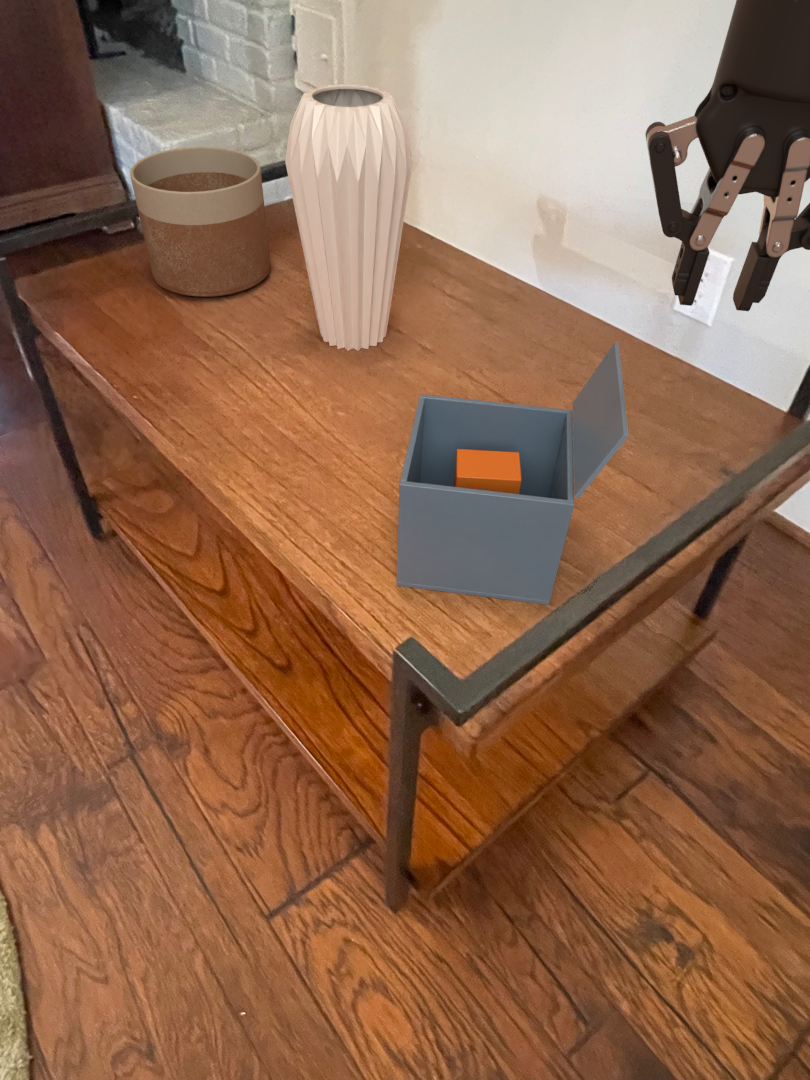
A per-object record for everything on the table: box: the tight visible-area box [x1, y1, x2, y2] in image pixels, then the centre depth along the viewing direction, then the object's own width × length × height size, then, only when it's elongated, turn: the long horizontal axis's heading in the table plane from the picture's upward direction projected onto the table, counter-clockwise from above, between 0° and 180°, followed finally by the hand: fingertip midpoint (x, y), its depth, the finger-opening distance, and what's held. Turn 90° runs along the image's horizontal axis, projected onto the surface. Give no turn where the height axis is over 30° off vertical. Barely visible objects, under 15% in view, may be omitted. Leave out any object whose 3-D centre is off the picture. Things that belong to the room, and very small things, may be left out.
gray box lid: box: [572, 342, 629, 499], centre depth 57 cm, size 6×12×1 cm
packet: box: [453, 449, 522, 494], centre depth 64 cm, size 5×4×9 cm
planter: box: [129, 146, 271, 298], centre depth 98 cm, size 16×16×14 cm
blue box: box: [395, 393, 575, 606], centre depth 64 cm, size 13×12×12 cm
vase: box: [284, 83, 413, 352], centre depth 84 cm, size 13×13×26 cm
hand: (712, 301), depth 49 cm, fingers open, 3 cm apart
